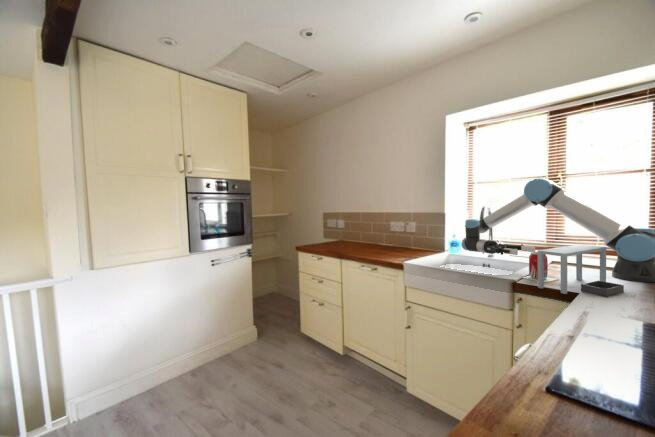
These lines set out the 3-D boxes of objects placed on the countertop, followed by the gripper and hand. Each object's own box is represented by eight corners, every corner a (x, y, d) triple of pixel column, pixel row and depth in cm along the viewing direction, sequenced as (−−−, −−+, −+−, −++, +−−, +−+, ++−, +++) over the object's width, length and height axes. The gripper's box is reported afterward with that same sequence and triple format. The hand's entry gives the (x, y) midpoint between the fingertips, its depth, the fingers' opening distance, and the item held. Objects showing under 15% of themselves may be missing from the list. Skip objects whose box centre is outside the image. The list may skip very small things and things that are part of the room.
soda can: (530, 275, 136) (530, 251, 136) (548, 277, 131) (548, 253, 130) (527, 278, 131) (527, 253, 131) (546, 280, 126) (545, 255, 126)
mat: (535, 275, 137) (535, 274, 137) (558, 280, 128) (558, 279, 128) (521, 277, 133) (521, 277, 133) (544, 282, 124) (544, 282, 124)
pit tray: (597, 287, 115) (597, 280, 115) (623, 292, 108) (623, 285, 108) (581, 291, 111) (581, 284, 111) (607, 297, 103) (607, 289, 103)
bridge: (578, 278, 129) (578, 244, 128) (606, 284, 119) (606, 247, 119) (537, 287, 118) (537, 250, 117) (565, 294, 109) (564, 253, 108)
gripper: (502, 251, 162) (542, 255, 142) (472, 255, 153) (509, 261, 133) (502, 238, 162) (541, 241, 142) (471, 242, 153) (509, 245, 133)
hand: (526, 250), depth 137 cm, fingers open, 13 cm apart
